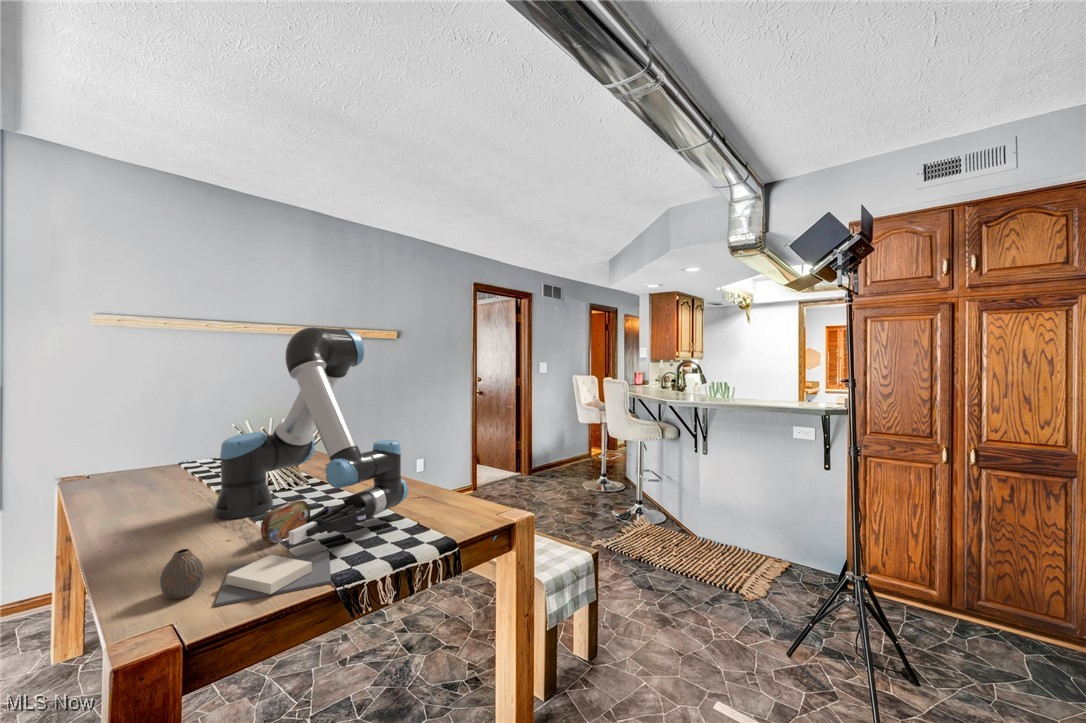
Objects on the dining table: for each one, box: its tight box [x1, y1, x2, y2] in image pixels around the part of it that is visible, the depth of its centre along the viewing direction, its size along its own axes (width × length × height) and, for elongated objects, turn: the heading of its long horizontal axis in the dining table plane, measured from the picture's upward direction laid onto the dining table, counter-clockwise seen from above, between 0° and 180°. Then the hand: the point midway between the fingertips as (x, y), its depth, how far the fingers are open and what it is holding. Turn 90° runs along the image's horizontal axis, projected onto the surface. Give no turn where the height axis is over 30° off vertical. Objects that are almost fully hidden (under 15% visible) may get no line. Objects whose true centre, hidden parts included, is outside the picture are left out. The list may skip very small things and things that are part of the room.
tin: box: [260, 500, 311, 544], centre depth 120 cm, size 15×3×8 cm, turn 168°
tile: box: [226, 554, 312, 594], centre depth 96 cm, size 12×2×10 cm
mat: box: [214, 549, 332, 608], centre depth 98 cm, size 17×20×1 cm
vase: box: [159, 548, 205, 600], centre depth 91 cm, size 7×7×9 cm
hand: (291, 537), depth 100 cm, fingers closed
